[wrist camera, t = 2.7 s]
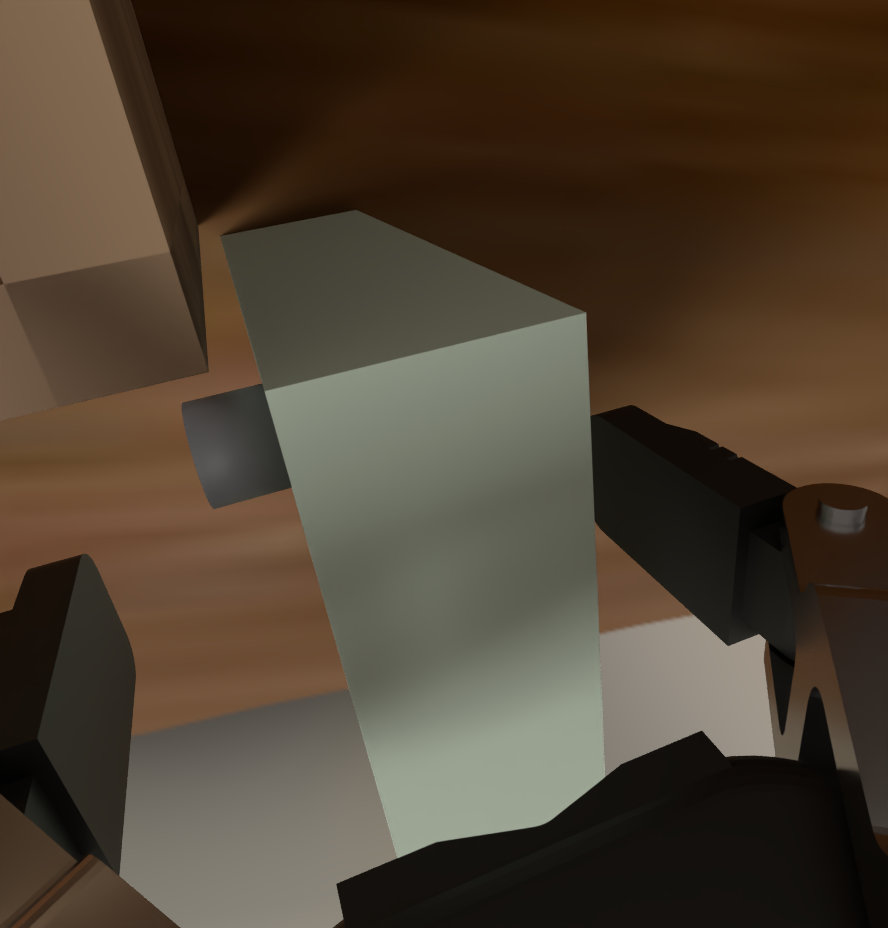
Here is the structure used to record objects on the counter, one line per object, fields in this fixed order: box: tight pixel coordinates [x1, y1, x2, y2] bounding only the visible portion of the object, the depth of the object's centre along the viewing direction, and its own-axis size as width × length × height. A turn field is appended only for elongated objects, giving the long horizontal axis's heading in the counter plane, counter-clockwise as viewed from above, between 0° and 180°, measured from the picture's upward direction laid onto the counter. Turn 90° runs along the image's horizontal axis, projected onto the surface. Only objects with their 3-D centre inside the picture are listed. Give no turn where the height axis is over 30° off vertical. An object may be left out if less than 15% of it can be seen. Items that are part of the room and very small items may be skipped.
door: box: [182, 210, 605, 858], centre depth 13 cm, size 4×8×11 cm, turn 8°
